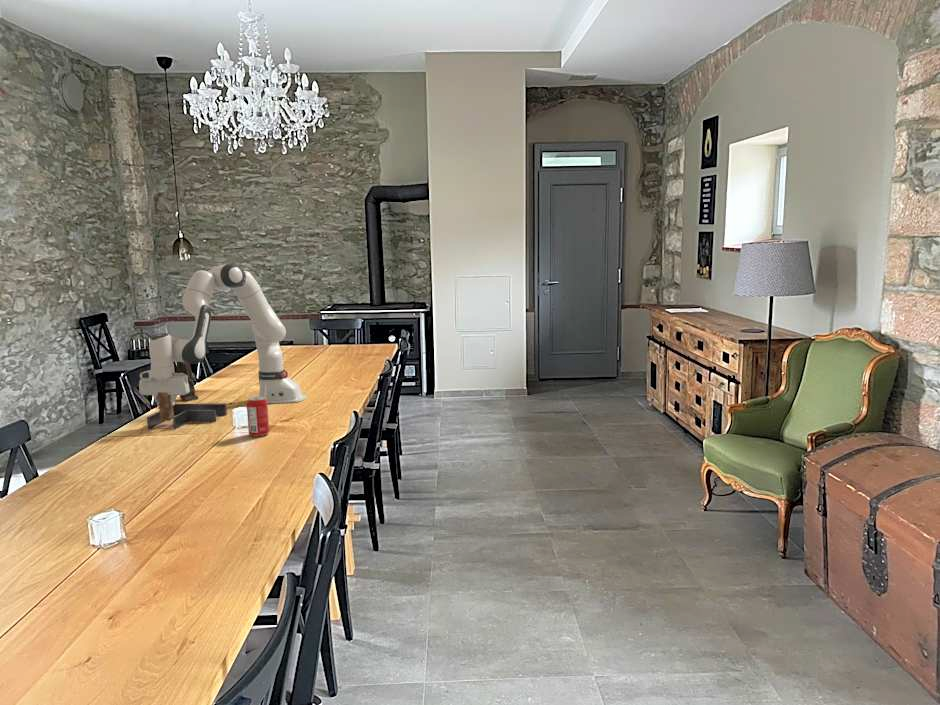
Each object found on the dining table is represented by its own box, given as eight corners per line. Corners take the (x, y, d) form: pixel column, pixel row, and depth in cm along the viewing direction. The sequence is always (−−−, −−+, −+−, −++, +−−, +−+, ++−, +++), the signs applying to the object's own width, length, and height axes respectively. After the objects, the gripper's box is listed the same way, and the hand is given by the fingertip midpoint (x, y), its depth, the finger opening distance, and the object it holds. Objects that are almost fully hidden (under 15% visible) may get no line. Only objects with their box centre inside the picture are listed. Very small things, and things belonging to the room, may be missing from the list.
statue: (186, 401, 347) (182, 360, 343) (177, 399, 351) (174, 359, 348) (199, 399, 352) (195, 358, 349) (190, 397, 356) (187, 357, 353)
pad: (181, 423, 308) (181, 422, 308) (172, 428, 300) (172, 427, 300) (163, 423, 309) (163, 422, 309) (153, 428, 301) (153, 427, 301)
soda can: (248, 438, 284) (246, 401, 281) (249, 433, 291) (246, 396, 289) (269, 436, 286) (267, 399, 283) (269, 431, 293) (267, 395, 291)
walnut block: (174, 418, 306) (171, 390, 304) (169, 420, 302) (167, 392, 300) (164, 418, 306) (162, 390, 304) (160, 420, 302) (157, 392, 300)
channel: (226, 414, 321) (225, 403, 320) (204, 429, 298) (203, 417, 297) (174, 414, 323) (173, 403, 322) (147, 429, 300) (146, 417, 299)
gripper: (190, 371, 303) (193, 403, 306) (143, 371, 305) (146, 403, 307) (183, 374, 297) (186, 407, 299) (135, 374, 299) (138, 407, 301)
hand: (166, 405), depth 303 cm, fingers closed on walnut block, 4 cm apart
